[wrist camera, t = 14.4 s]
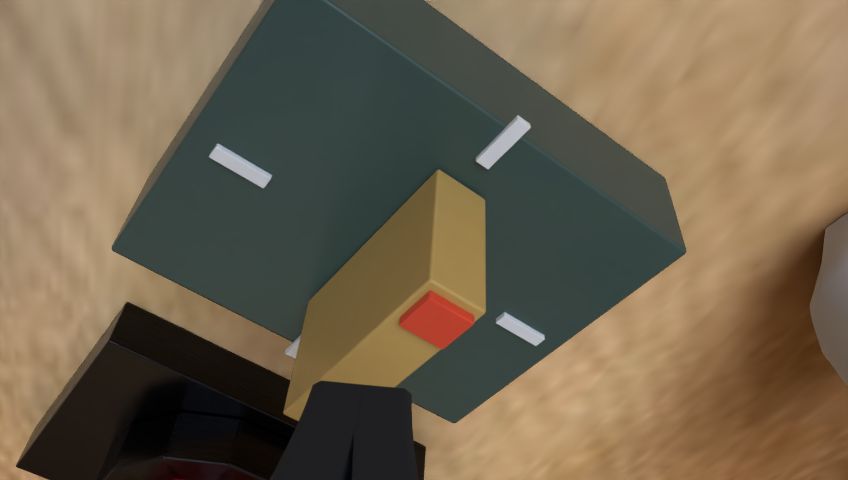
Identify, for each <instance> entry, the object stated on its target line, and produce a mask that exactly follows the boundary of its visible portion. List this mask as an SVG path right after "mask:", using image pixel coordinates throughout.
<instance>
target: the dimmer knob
mask: <svg viewBox="0 0 848 480" xmlns="http://www.w3.org/2000/svg"><path fill="white" fill-rule="evenodd" d="M485 312H486V218H485V200H484V198H482V197H480V196H479V195H477V194H476V193H474V192H473V191H471V190H470V189H468V188H467V187H465V186H464V185H462V184H461V183H459V182H458V181H456V180H455V179H453V178H452V177H450V176H449V175H447V174H446V173H444V172H443V171H441V170H439V169H438V170H437V171H436V172H435V173H434V174H433V175H432V176H431V177H430V178H429V179H428V180H427V181H426V182H425V183H424V184H423V185H422V186H421V187H420V188H419V189H418V190H417V191H416V192H415V193H414V194H413V195H412V196H411V197H410V198H409V199H408V200H407V201H406V202H405V203H404V204H403V205H402V206H401V207H400V208H399V209H398V211H397V212H396V213H395V214H394V215H393V216H392V217H391V218H390V219H389V220H388V221H387V222H386V223H385V224H384V225H383V226H382V227H381V228H380V229H379V230H378V231H377V232H376V233H375V234H374V235H373V236H372V237H371V238H370V239H369V240H368V241H367V242H366V243H365V244H364V245H363V246H362V247H361V248H360V249H359V250H358V251H357V252H356V253H355V254H354V256H353V257H352V258H351V259H350V260H349V261H348V262H347V263H346V264H345V265H344V266H343V267H342V268H341V269H340V270H339V271H338V272H337V273H336V274H335V275H334V276H333V277H332V278H331V279H330V280H329V281H328V282H327V283H326V284H325V285H324V286H323V287H322V288H321V289H320V290H319V291H318V292H317V293H316V294H315V295H314V296H313V297H312V298H311V299H310V301H309V302H308V307H307V311H306V315H305V320H304V324H303V329H302V333H301V337H300V342H299V346H298V350H297V355H296V359H295V363H294V368H293V372H292V376H291V381H290V385H289V389H288V394H287V398H286V402H285V407H284V411H283V413H284V414H285V415H287V416H289V417H291V418H293V419H295V420H297V421H299V419H300V417H301V415H302V412H303V410H304V407H305V405H306V402H307V400H308V397H309V394H310V391H311V388H312V385H313V384H315V383H317V382H319V381H331V382H341V383H352V384H362V385H373V386H383V387H394V388H395V387H396V386H397V385H398V384H400V383H401V382H402V381H403V380H404V379H406V378H407V377H408V376H409V375H411V374H412V373H413V372H414V371H415V370H417V369H418V368H419V367H420V366H422V365H423V364H424V363H425V362H426V361H428V360H429V359H430V358H431V357H433V356H434V355H435V354H436V353H437V352H439V351H440V350H441V349H444V348H446V347H447V346H448V345H449V344H450V343H452V342H453V341H454V340H455V339H457V338H458V337H459V336H460V335H461V334H463V333H464V332H465V331H466V330H468V329H469V328H470V327H471V326H473V325H474V322H475V321H477V320H478V319H479V318H480V317H481V316H483V315H484V314H485Z"/></svg>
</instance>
